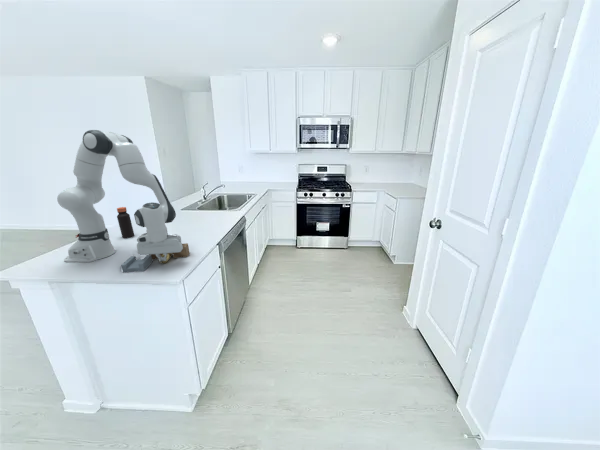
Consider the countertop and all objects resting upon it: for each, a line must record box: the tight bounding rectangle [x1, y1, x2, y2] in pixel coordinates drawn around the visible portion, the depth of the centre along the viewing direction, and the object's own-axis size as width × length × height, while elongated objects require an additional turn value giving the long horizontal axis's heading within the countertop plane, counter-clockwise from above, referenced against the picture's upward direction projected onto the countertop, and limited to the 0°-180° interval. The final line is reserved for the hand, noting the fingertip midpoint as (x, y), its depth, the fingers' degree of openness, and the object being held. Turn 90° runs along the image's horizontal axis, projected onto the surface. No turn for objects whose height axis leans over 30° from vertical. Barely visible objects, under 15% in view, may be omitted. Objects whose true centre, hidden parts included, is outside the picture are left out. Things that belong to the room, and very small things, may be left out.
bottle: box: [116, 206, 135, 239], centre depth 161 cm, size 7×7×20 cm
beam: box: [149, 242, 190, 261], centre depth 134 cm, size 19×5×6 cm, turn 100°
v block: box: [121, 255, 153, 274], centre depth 123 cm, size 10×10×4 cm
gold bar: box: [158, 253, 173, 265], centre depth 132 cm, size 12×4×4 cm, turn 9°
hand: (163, 260), depth 125 cm, fingers closed
